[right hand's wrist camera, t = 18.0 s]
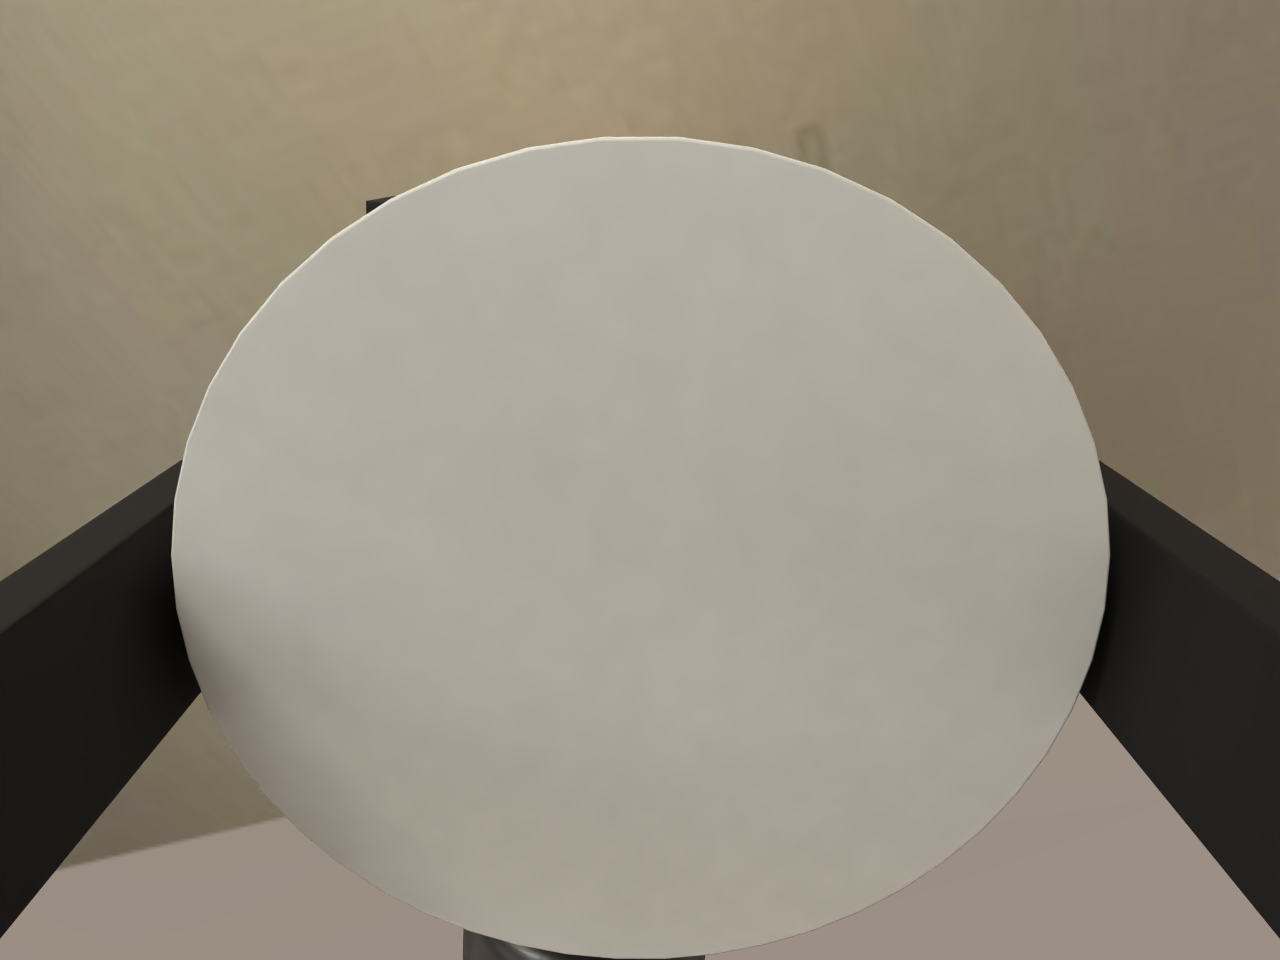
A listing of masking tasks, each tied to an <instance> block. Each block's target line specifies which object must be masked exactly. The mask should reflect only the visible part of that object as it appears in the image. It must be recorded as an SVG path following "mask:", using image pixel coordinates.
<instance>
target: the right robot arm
mask: <svg viewBox="0 0 1280 960" xmlns="http://www.w3.org/2000/svg"><path fill="white" fill-rule="evenodd" d="M182 462H183V460H181V461H179V462H178V463H176V464H175V465H173V466H172V467H170V468H169V469H167V470H166V471H164V472H163V473H161V474H160V475H158V476H157V477H155V478H154V479H152V480H151V481H149V482H148V483H147V484H145V485H144V486H142V487H141V488H139V489H138V490H136V491H135V492H133V493H132V494H130V495H129V496H127V497H126V498H124V499H123V500H121V501H120V502H118V503H117V504H115V505H114V506H112V507H111V508H109V509H108V510H106V511H105V512H103V513H102V514H100V515H99V516H97V517H96V518H94V519H93V520H91V521H90V522H88V523H87V524H85V525H84V526H82V527H81V528H79V529H78V530H77V531H75V532H74V533H72V534H71V535H69V536H68V537H66V538H65V539H63V540H62V541H60V542H59V543H57V544H56V545H54V546H53V547H51V548H50V549H48V550H47V551H45V552H44V553H42V554H41V555H39V556H38V557H36V558H35V559H33V560H32V561H30V562H29V563H27V564H26V565H24V566H23V567H21V568H20V569H18V570H17V571H15V572H14V573H12V574H11V575H9V576H8V577H6V578H5V579H4V580H2V581H1V582H0V938H1V937H2V936H3V934H4V933H5V932H6V931H7V930H8V928H9V927H10V926H11V925H12V923H13V922H14V921H15V920H16V918H17V917H18V916H19V915H20V914H21V912H22V911H23V910H24V909H25V907H26V906H27V905H28V904H29V902H30V901H31V900H32V899H33V898H34V896H35V895H36V894H37V893H38V891H39V890H40V889H41V888H42V887H43V885H44V884H45V883H46V882H47V880H48V879H49V878H50V877H51V875H52V874H53V873H54V872H55V871H56V869H57V868H58V867H59V866H60V864H61V863H62V862H63V861H64V859H65V858H66V857H67V856H68V855H69V853H70V852H71V851H72V850H73V848H74V847H75V846H76V845H77V843H78V842H79V841H80V840H81V839H82V837H83V836H84V835H85V834H86V832H87V831H88V830H89V829H90V828H91V826H92V825H93V824H94V823H95V821H96V820H97V819H98V818H99V816H100V815H101V814H102V813H103V812H104V810H105V809H106V808H107V807H108V805H109V804H110V803H111V802H112V800H113V799H114V798H115V797H116V796H117V794H118V793H119V792H120V791H121V789H122V788H123V787H124V786H125V784H126V783H127V782H128V781H129V780H130V778H131V777H132V776H133V775H134V773H135V772H136V771H137V770H138V769H139V767H140V766H141V765H142V764H143V762H144V761H145V760H146V759H147V757H148V756H149V755H150V754H151V753H152V751H153V750H154V749H155V748H156V746H157V745H158V744H159V743H160V741H161V740H162V739H163V738H164V737H165V735H166V734H167V733H168V732H169V730H170V729H171V728H172V727H173V726H174V724H175V723H176V722H177V721H178V719H179V718H180V717H181V716H182V714H183V713H184V712H185V711H186V710H187V708H188V707H189V706H190V705H191V703H192V702H193V701H194V700H195V698H196V697H197V696H198V695H199V694H200V692H201V689H200V687H199V684H198V682H197V679H196V677H195V674H194V672H193V669H192V667H191V664H190V662H189V659H188V654H187V650H186V646H185V642H184V638H183V634H182V630H181V626H180V622H179V618H178V614H177V610H176V601H175V590H174V579H173V569H172V558H171V550H172V533H173V515H174V499H175V495H176V490H177V485H178V481H179V476H180V472H181V467H182ZM1099 465H1100V469H1101V474H1102V479H1103V483H1104V488H1105V492H1106V497H1107V508H1108V525H1109V543H1110V562H1109V573H1108V583H1107V594H1106V604H1105V611H1104V615H1103V619H1102V623H1101V627H1100V631H1099V636H1098V640H1097V644H1096V648H1095V652H1094V656H1093V660H1092V663H1091V665H1090V667H1089V670H1088V672H1087V675H1086V677H1085V680H1084V682H1083V685H1082V687H1081V690H1080V694H1081V695H1082V696H1083V697H1084V698H1085V700H1086V701H1087V702H1088V703H1089V705H1090V706H1091V707H1092V708H1093V709H1094V711H1095V712H1096V713H1097V714H1098V716H1099V717H1100V718H1101V719H1102V721H1103V722H1104V723H1105V724H1106V725H1107V727H1108V728H1109V729H1110V730H1111V732H1112V733H1113V734H1114V735H1115V737H1116V738H1117V739H1118V740H1119V741H1120V743H1121V744H1122V745H1123V746H1124V748H1125V749H1126V750H1127V751H1128V753H1129V754H1130V755H1131V756H1132V757H1133V759H1134V760H1135V761H1136V762H1137V764H1138V765H1139V766H1140V767H1141V768H1142V770H1143V771H1144V772H1145V773H1146V775H1147V776H1148V777H1149V778H1150V780H1151V781H1152V782H1153V783H1154V784H1155V786H1156V787H1157V788H1158V789H1159V791H1160V792H1161V793H1162V794H1163V796H1164V797H1165V798H1166V799H1167V800H1168V802H1169V803H1170V804H1171V805H1172V807H1173V808H1174V809H1175V810H1176V812H1177V813H1178V814H1179V815H1180V816H1181V818H1182V819H1183V820H1184V821H1185V823H1186V824H1187V825H1188V826H1189V828H1190V829H1191V830H1192V831H1193V832H1194V834H1195V835H1196V836H1197V837H1198V839H1199V840H1200V841H1201V842H1202V843H1203V845H1204V846H1205V847H1206V848H1207V850H1208V851H1209V852H1210V853H1211V855H1212V856H1213V857H1214V858H1215V859H1216V861H1217V862H1218V863H1219V864H1220V866H1221V867H1222V868H1223V869H1224V871H1225V872H1226V873H1227V874H1228V875H1229V877H1230V878H1231V879H1232V880H1233V882H1234V883H1235V884H1236V885H1237V887H1238V888H1239V889H1240V890H1241V891H1242V893H1243V894H1244V895H1245V896H1246V898H1247V899H1248V900H1249V901H1250V902H1251V904H1252V905H1253V906H1254V907H1255V909H1256V910H1257V911H1258V912H1259V914H1260V915H1261V916H1262V917H1263V918H1264V920H1265V921H1266V922H1267V923H1268V925H1269V926H1270V927H1271V928H1272V930H1273V931H1274V932H1275V933H1276V934H1277V936H1278V937H1279V938H1280V582H1279V581H1278V580H1276V579H1275V578H1273V577H1272V576H1271V575H1269V574H1268V573H1266V572H1265V571H1263V570H1262V569H1260V568H1259V567H1257V566H1256V565H1254V564H1253V563H1251V562H1250V561H1248V560H1247V559H1245V558H1244V557H1242V556H1241V555H1239V554H1238V553H1236V552H1235V551H1233V550H1232V549H1230V548H1229V547H1227V546H1226V545H1224V544H1223V543H1221V542H1220V541H1218V540H1217V539H1215V538H1214V537H1212V536H1211V535H1209V534H1208V533H1206V532H1205V531H1203V530H1202V529H1201V528H1199V527H1198V526H1196V525H1195V524H1193V523H1192V522H1190V521H1189V520H1187V519H1186V518H1184V517H1183V516H1181V515H1180V514H1178V513H1177V512H1175V511H1174V510H1172V509H1171V508H1169V507H1168V506H1166V505H1165V504H1163V503H1162V502H1160V501H1159V500H1157V499H1156V498H1154V497H1153V496H1151V495H1150V494H1148V493H1147V492H1145V491H1144V490H1142V489H1141V488H1139V487H1138V486H1136V485H1135V484H1133V483H1132V482H1131V481H1129V480H1128V479H1126V478H1125V477H1123V476H1122V475H1120V474H1119V473H1117V472H1116V471H1114V470H1113V469H1111V468H1110V467H1108V466H1107V465H1105V464H1104V463H1102V462H1101V461H1099Z"/></svg>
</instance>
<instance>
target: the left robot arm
mask: <svg viewBox="0 0 1280 960" xmlns="http://www.w3.org/2000/svg"><path fill="white" fill-rule="evenodd" d="M397 196H398V195H397ZM393 197H396V196H392V197H386V198H380V199H375V200H369V201H366V215H367V214H368V213H370V212H371V211H373V210H374V209H376V208H377V207H379V206H380V205H382V204H383V203H385V202H386V201H388V200H389V199H391V198H393ZM463 960H705V955H699V956H689V957H678V958H667V959H614V958H603V957H592V956H582V955H571V954H563V953H558V952H553V951H547V950H542V949H537V948H531V947H526V946H521V945H516V944H513V943H509V942H506V941H502V940H499V939H495V938H492V937H489V936H485V935H482V934H478V933H475V932H471V931H468V930H466V929H464V934H463Z"/></svg>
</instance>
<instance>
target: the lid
mask: <svg viewBox="0 0 1280 960" xmlns="http://www.w3.org/2000/svg"><path fill="white" fill-rule="evenodd" d="M171 558H172V569H173V579H174V590H175V601H176V610H177V614H178V618H179V622H180V626H181V630H182V634H183V638H184V642H185V646H186V650H187V654H188V659H189V662H190V664H191V667H192V669H193V672H194V674H195V677H196V679H197V682H198V684H199V687H200V689H201V692H202V694H203V697H204V699H205V701H206V704H207V706H208V709H209V711H210V712H211V714H212V716H213V718H214V719H215V721H216V723H217V725H218V726H219V728H220V730H221V732H222V733H223V735H224V737H225V739H226V741H227V742H228V744H229V746H230V748H231V749H232V751H233V753H234V754H235V756H236V757H237V758H238V760H239V761H240V762H241V764H242V765H243V766H244V768H245V769H246V770H247V772H248V773H249V774H250V776H251V777H252V778H253V780H254V781H255V782H256V784H257V785H258V786H259V788H260V789H261V790H262V792H263V793H264V794H265V795H266V796H267V797H268V798H269V799H270V800H271V801H272V803H273V804H274V805H275V806H276V807H277V808H278V809H279V810H280V811H281V812H282V813H283V814H284V815H285V816H286V817H287V818H288V819H289V820H290V821H291V822H292V823H293V824H294V825H295V827H296V828H297V829H298V830H299V831H301V832H302V833H303V834H304V835H305V836H307V837H308V838H309V839H310V840H311V841H313V842H314V843H315V844H316V845H318V846H319V847H320V848H321V849H322V850H324V851H325V852H326V853H327V854H328V855H330V856H331V857H332V858H333V859H334V860H336V861H337V862H338V863H340V864H341V865H343V866H344V867H346V868H347V869H349V870H350V871H352V872H353V873H355V874H356V875H358V876H359V877H361V878H362V879H364V880H365V881H367V882H368V883H370V884H371V885H373V886H374V887H376V888H377V889H379V890H381V891H383V892H385V893H387V894H389V895H390V896H392V897H394V898H396V899H398V900H400V901H402V902H404V903H406V904H408V905H410V906H412V907H414V908H416V909H417V910H419V911H421V912H423V913H426V914H428V915H431V916H433V917H436V918H438V919H441V920H443V921H446V922H448V923H451V924H453V925H456V926H458V927H461V928H463V929H466V930H468V931H471V932H475V933H478V934H482V935H485V936H489V937H492V938H495V939H499V940H502V941H506V942H509V943H513V944H516V945H521V946H526V947H531V948H537V949H542V950H547V951H553V952H558V953H563V954H571V955H582V956H592V957H603V958H614V959H667V958H678V957H689V956H699V955H710V954H717V953H723V952H728V951H733V950H739V949H744V948H749V947H755V946H760V945H765V944H768V943H772V942H775V941H778V940H782V939H786V938H789V937H793V936H796V935H800V934H803V933H806V932H810V931H813V930H815V929H818V928H820V927H823V926H825V925H828V924H830V923H833V922H835V921H838V920H840V919H843V918H845V917H848V916H851V915H853V914H856V913H858V912H860V911H862V910H864V909H866V908H868V907H870V906H871V905H873V904H875V903H877V902H879V901H881V900H883V899H885V898H887V897H889V896H891V895H893V894H894V893H896V892H898V891H900V890H902V889H904V888H905V887H907V886H908V885H910V884H911V883H913V882H914V881H916V880H917V879H919V878H920V877H922V876H923V875H925V874H926V873H928V872H929V871H931V870H932V869H934V868H936V867H937V866H938V865H940V864H942V863H943V862H944V861H946V860H947V859H948V858H949V857H950V856H952V855H953V854H954V853H955V852H956V851H958V850H959V849H960V848H961V847H962V846H964V845H965V844H966V843H967V842H968V841H970V840H971V839H972V838H973V837H975V836H976V835H977V834H978V833H979V832H981V831H982V830H983V829H984V828H985V827H986V826H987V825H988V824H989V823H990V822H991V820H992V819H993V818H994V817H995V816H996V815H997V814H998V813H999V812H1000V811H1001V810H1002V809H1003V808H1004V807H1005V806H1006V805H1007V804H1008V803H1009V802H1010V801H1011V800H1012V799H1013V798H1014V796H1015V795H1016V794H1017V793H1018V792H1019V791H1020V789H1021V788H1022V787H1023V785H1024V784H1025V783H1026V781H1027V780H1028V779H1029V777H1030V776H1031V775H1032V773H1033V772H1034V771H1035V769H1036V768H1037V767H1038V765H1039V764H1040V763H1041V761H1042V760H1043V759H1044V757H1045V756H1046V755H1047V753H1048V752H1049V750H1050V748H1051V746H1052V745H1053V743H1054V741H1055V739H1056V738H1057V736H1058V734H1059V732H1060V730H1061V729H1062V727H1063V725H1064V723H1065V722H1066V720H1067V718H1068V716H1069V715H1070V713H1071V711H1072V709H1073V707H1074V705H1075V702H1076V700H1077V697H1078V695H1079V692H1080V690H1081V687H1082V685H1083V682H1084V680H1085V677H1086V675H1087V672H1088V670H1089V667H1090V665H1091V663H1092V660H1093V656H1094V652H1095V648H1096V644H1097V640H1098V636H1099V631H1100V627H1101V623H1102V619H1103V615H1104V611H1105V604H1106V594H1107V583H1108V573H1109V562H1110V543H1109V525H1108V508H1107V497H1106V492H1105V488H1104V483H1103V479H1102V474H1101V469H1100V465H1099V460H1098V456H1097V451H1096V446H1095V442H1094V439H1093V437H1092V434H1091V432H1090V429H1089V426H1088V424H1087V421H1086V419H1085V416H1084V414H1083V411H1082V408H1081V406H1080V403H1079V401H1078V398H1077V396H1076V393H1075V390H1074V388H1073V386H1072V384H1071V382H1070V381H1069V379H1068V377H1067V375H1066V374H1065V372H1064V370H1063V369H1062V367H1061V365H1060V363H1059V362H1058V360H1057V358H1056V357H1055V355H1054V353H1053V351H1052V350H1051V348H1050V346H1049V345H1048V343H1047V341H1046V340H1045V338H1044V336H1043V334H1042V333H1041V331H1040V330H1039V329H1038V328H1037V327H1036V325H1035V324H1034V323H1033V322H1032V320H1031V319H1030V318H1029V317H1028V316H1027V314H1026V313H1025V312H1024V311H1023V309H1022V308H1021V307H1020V306H1019V305H1018V303H1017V302H1016V301H1015V300H1014V298H1013V297H1012V296H1011V295H1010V294H1009V292H1008V291H1007V290H1006V289H1005V287H1004V286H1003V285H1002V284H1001V283H1000V282H999V281H998V280H997V279H996V278H995V277H994V276H993V275H992V274H990V273H989V272H988V271H987V270H986V269H985V268H984V267H983V266H981V265H980V264H979V263H978V262H977V261H976V260H975V259H974V258H973V257H971V256H970V255H969V254H968V253H967V252H966V251H965V250H964V249H962V248H961V247H960V246H959V245H958V244H957V243H956V242H955V241H954V240H952V239H951V238H950V237H949V236H947V235H946V234H944V233H943V232H941V231H940V230H938V229H937V228H935V227H933V226H932V225H930V224H929V223H927V222H926V221H924V220H923V219H921V218H920V217H918V216H917V215H915V214H914V213H912V212H911V211H909V210H907V209H906V208H904V207H903V206H901V205H900V204H898V203H897V202H895V201H894V200H892V199H890V198H888V197H886V196H884V195H882V194H880V193H877V192H875V191H873V190H871V189H869V188H867V187H864V186H862V185H860V184H858V183H856V182H853V181H851V180H849V179H847V178H845V177H843V176H840V175H838V174H836V173H834V172H832V171H830V170H827V169H825V168H822V167H818V166H815V165H812V164H808V163H805V162H801V161H798V160H795V159H791V158H788V157H784V156H781V155H778V154H774V153H771V152H767V151H764V150H761V149H757V148H754V147H747V146H740V145H733V144H726V143H719V142H712V141H705V140H698V139H691V138H684V137H598V138H591V139H584V140H577V141H570V142H563V143H556V144H549V145H542V146H535V147H528V148H525V149H521V150H518V151H514V152H511V153H508V154H504V155H501V156H497V157H494V158H490V159H487V160H484V161H480V162H477V163H473V164H470V165H467V166H463V167H460V168H456V169H454V170H452V171H450V172H448V173H446V174H443V175H441V176H439V177H437V178H435V179H433V180H430V181H428V182H426V183H424V184H422V185H419V186H417V187H415V188H413V189H411V190H409V191H406V192H404V193H402V194H400V195H398V196H396V197H393V198H391V199H389V200H388V201H386V202H385V203H383V204H382V205H380V206H379V207H377V208H376V209H374V210H373V211H371V212H370V213H368V214H367V215H365V216H363V217H362V218H360V219H359V220H357V221H356V222H354V223H353V224H351V225H350V226H348V227H347V228H345V229H344V230H342V231H340V232H339V233H337V234H336V235H334V236H333V237H331V238H330V239H329V240H328V241H327V242H326V243H325V244H324V245H322V246H321V247H320V248H319V249H318V250H317V251H316V252H315V253H314V254H312V255H311V256H310V257H309V258H308V259H307V260H306V261H305V262H303V263H302V264H301V265H300V266H299V267H298V268H297V269H296V270H295V271H293V272H292V273H291V274H290V275H289V276H288V277H287V278H286V279H284V280H283V281H282V282H281V283H280V285H279V286H278V287H277V288H276V289H275V291H274V292H273V293H272V294H271V295H270V297H269V298H268V299H267V300H266V302H265V303H264V304H263V305H262V306H261V308H260V309H259V310H258V311H257V313H256V314H255V315H254V316H253V317H252V319H251V320H250V321H249V322H248V324H247V325H246V326H245V327H244V328H243V330H242V331H241V332H240V334H239V335H238V337H237V339H236V340H235V342H234V344H233V346H232V347H231V349H230V351H229V352H228V354H227V356H226V357H225V359H224V361H223V363H222V364H221V366H220V368H219V369H218V371H217V373H216V375H215V376H214V378H213V380H212V381H211V383H210V385H209V387H208V389H207V392H206V394H205V397H204V399H203V402H202V405H201V407H200V410H199V412H198V415H197V417H196V420H195V423H194V425H193V428H192V430H191V433H190V435H189V438H188V440H187V444H186V449H185V453H184V458H183V462H182V467H181V472H180V476H179V481H178V485H177V490H176V495H175V499H174V515H173V533H172V550H171Z"/></svg>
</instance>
